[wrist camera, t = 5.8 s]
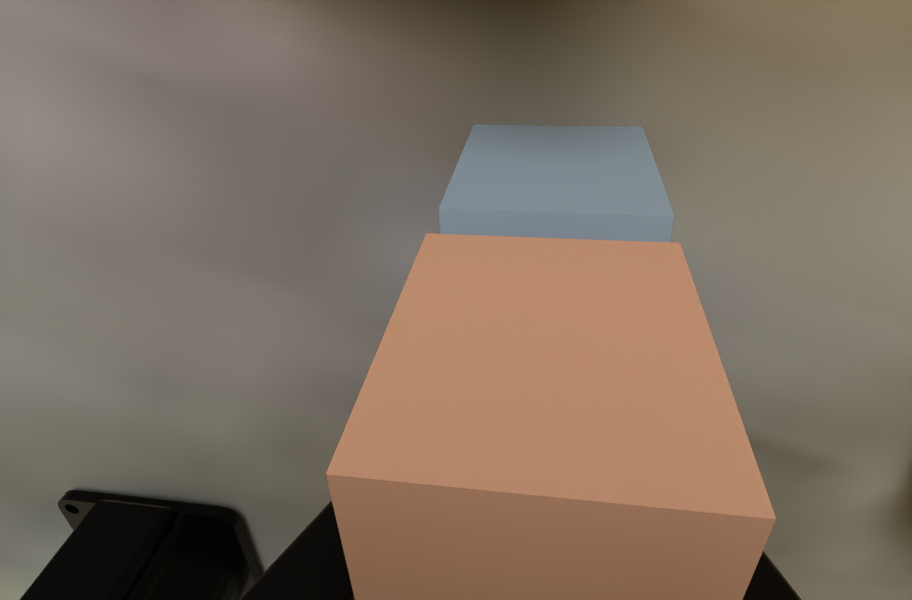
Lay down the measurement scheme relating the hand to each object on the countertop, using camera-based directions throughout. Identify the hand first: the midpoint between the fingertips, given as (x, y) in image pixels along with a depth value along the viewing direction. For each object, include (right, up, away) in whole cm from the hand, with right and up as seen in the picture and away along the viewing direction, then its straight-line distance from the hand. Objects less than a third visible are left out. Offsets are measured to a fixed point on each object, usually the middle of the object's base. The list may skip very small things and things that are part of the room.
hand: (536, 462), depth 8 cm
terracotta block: (0, +1, +1) cm, 1 cm away
